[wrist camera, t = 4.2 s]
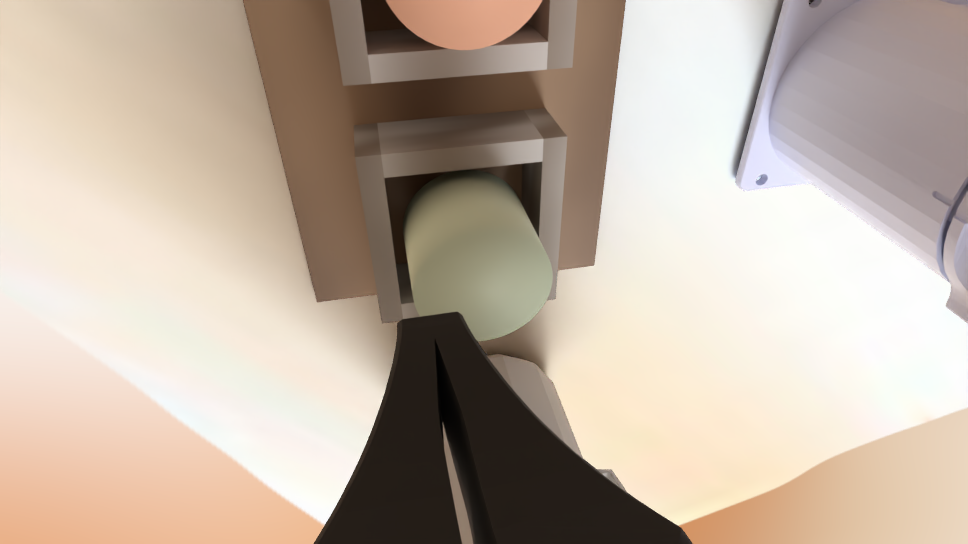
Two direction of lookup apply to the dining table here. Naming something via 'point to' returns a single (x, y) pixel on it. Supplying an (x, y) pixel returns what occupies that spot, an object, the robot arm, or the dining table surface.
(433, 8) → the terracotta button
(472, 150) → the button board
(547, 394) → the water bottle
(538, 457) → the robot arm
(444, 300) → the sage button
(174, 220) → the dining table surface
